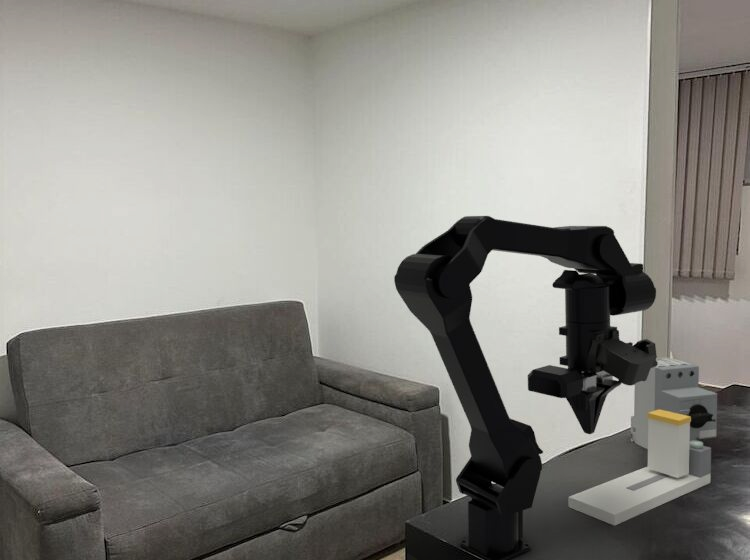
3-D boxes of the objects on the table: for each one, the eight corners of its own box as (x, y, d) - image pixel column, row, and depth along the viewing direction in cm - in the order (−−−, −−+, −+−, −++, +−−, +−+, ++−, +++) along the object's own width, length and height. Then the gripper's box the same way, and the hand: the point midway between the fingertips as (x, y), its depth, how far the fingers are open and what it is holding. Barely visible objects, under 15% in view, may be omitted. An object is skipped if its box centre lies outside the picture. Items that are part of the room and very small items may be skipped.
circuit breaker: (684, 467, 113) (686, 377, 112) (630, 441, 127) (631, 360, 125) (723, 462, 115) (725, 373, 114) (665, 436, 129) (667, 357, 127)
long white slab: (614, 525, 93) (615, 479, 92) (568, 507, 99) (568, 464, 98) (710, 482, 106) (711, 442, 106) (664, 468, 113) (665, 430, 112)
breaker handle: (678, 478, 103) (679, 420, 102) (646, 468, 107) (647, 412, 107) (689, 473, 105) (691, 416, 104) (658, 463, 109) (659, 409, 108)
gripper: (598, 337, 81) (600, 467, 82) (682, 316, 92) (681, 430, 94) (523, 327, 89) (526, 444, 91) (608, 308, 101) (609, 413, 102)
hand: (589, 433), depth 94 cm, fingers closed
